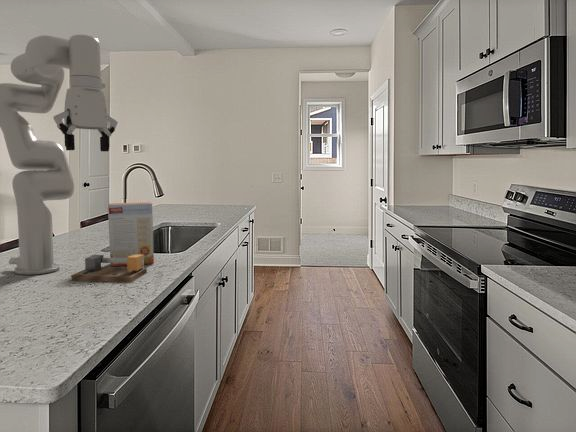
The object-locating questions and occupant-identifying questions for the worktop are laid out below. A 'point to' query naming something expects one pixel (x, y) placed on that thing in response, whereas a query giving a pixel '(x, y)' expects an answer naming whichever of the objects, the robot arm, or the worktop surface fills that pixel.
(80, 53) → the robot arm
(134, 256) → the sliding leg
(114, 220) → the cracker box
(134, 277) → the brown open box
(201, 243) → the worktop surface
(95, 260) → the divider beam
